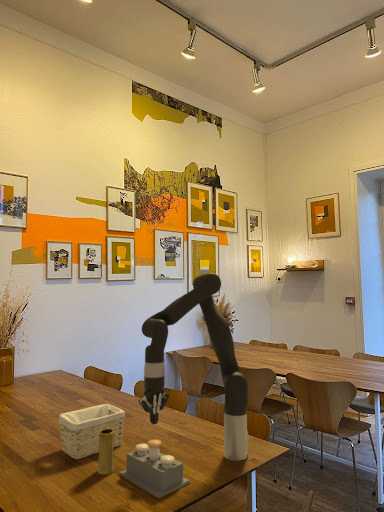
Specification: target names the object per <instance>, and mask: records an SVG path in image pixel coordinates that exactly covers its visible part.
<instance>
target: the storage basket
mask: <svg viewBox="0 0 384 512" xmlns="http://www.w3.org/2000/svg"><path fill="white" fill-rule="evenodd" d="M111 413H112V414H111ZM124 422H125V411H124V410H122V409H121V408H119V407H117V406H114V405H113V404H109V403H104V404H99V405H95V406H94V405H93V406H90V407H86V408H81V409H78V410H74V411H73V410H72V411H67V412H64V413H60V414H59V415H58V423H59V429H60V441H61V450H62V452H64V453H65V454H66V455H68V456H70V457H71V458H74V459H73V460H82V459H84V458H88V457H89V456H90V457H91V456H93V454H94V455H95V454H99V436H100V431H101V430H103V429H113V430H114V448H117V447H118V446H122V445H123V436H124ZM81 458H82V459H81Z"/></svg>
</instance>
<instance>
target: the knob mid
mask: <svg viewBox="0 0 384 512" xmlns="http://www.w3.org/2000/svg"><path fill="white" fill-rule="evenodd" d="M147 445H148V447H149V461H151V462H156V461H158V460H159V452H160V447H162V441H161V440H160V439H151V440H148V441H147Z"/></svg>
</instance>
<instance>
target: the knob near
mask: <svg viewBox="0 0 384 512" xmlns="http://www.w3.org/2000/svg"><path fill="white" fill-rule="evenodd" d="M174 459H175V457H174V456H173V455H168V454H165V456H162V457H161V458H160V462H161V463H162V467H163V468H165V469H168V468H171V467H172V463H174Z"/></svg>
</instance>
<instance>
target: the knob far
mask: <svg viewBox="0 0 384 512" xmlns="http://www.w3.org/2000/svg"><path fill="white" fill-rule="evenodd" d="M147 450H149V447H148V443H138V444H136V445H135V451H137V454H138V455H140V456H143V455H145V454H147Z"/></svg>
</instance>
